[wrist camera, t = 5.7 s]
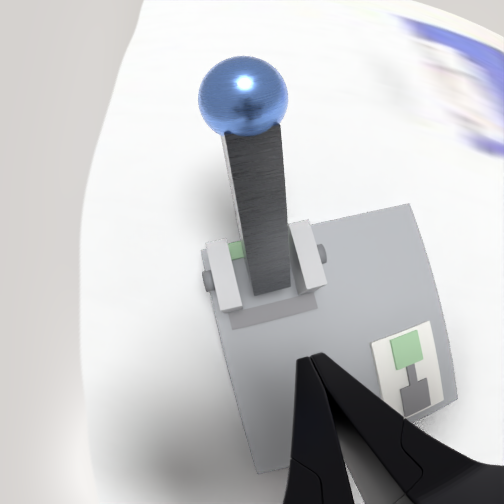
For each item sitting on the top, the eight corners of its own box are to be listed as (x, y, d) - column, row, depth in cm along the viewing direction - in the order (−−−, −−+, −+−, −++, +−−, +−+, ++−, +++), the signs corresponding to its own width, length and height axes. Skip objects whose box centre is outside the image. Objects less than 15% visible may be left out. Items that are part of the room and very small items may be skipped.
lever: (305, 290, 15) (297, 56, 8) (243, 305, 15) (192, 72, 8) (287, 248, 17) (270, 46, 10) (232, 261, 17) (189, 60, 10)
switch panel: (449, 396, 16) (481, 404, 13) (257, 467, 15) (258, 494, 12) (402, 208, 19) (428, 187, 16) (203, 254, 18) (193, 237, 15)
